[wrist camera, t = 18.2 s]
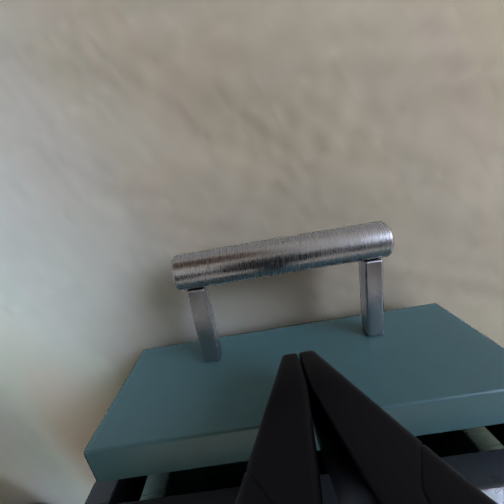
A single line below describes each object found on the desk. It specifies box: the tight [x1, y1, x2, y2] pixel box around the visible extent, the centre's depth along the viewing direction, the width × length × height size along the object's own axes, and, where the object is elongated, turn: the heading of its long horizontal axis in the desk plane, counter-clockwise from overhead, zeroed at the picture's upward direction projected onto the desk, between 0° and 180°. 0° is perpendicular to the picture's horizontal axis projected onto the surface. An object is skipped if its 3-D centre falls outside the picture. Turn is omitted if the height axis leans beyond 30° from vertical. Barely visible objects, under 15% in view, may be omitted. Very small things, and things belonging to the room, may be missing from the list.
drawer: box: [84, 221, 504, 501], centre depth 10 cm, size 17×12×4 cm
